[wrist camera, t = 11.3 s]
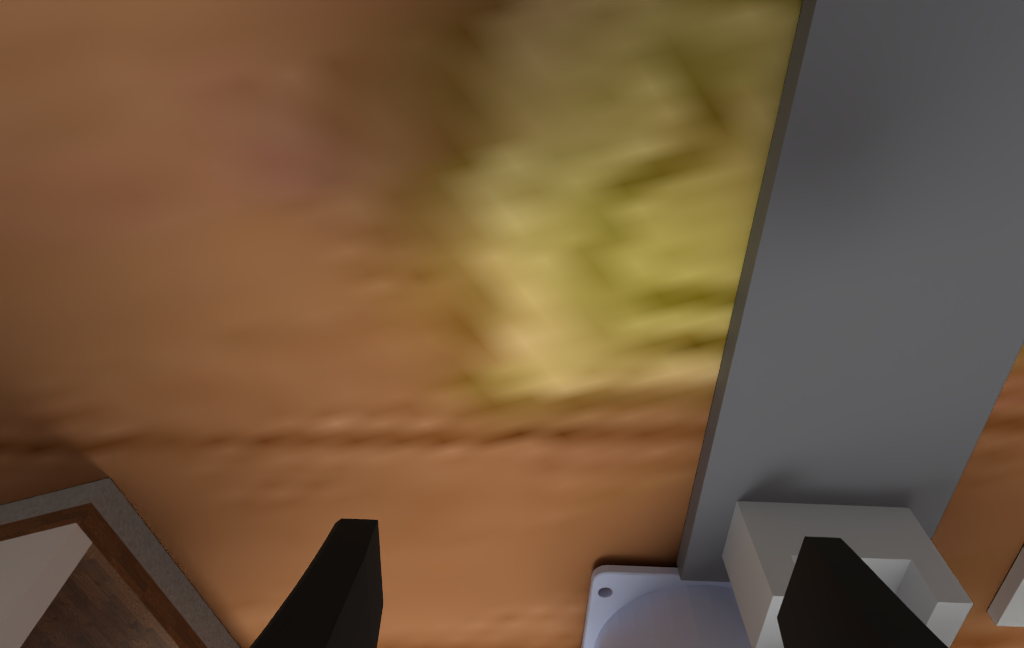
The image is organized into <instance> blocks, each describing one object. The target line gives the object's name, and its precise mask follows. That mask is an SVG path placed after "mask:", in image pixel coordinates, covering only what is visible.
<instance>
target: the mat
mask: <svg viewBox="0 0 1024 648" xmlns="http://www.w3.org/2000/svg"><path fill="white" fill-rule="evenodd" d="M987 613H988V615H989V616H990V617H991V619H992V620H993V622H994V623H995V625H996V626H1015V627H1024V546H1023V548H1022V550H1021V552H1020V553H1019V555H1018V557H1017V559H1016V561H1015V562H1014V564H1013V566H1012V568H1011V570H1010V571H1009V573H1008V575H1007V577H1006V578H1005V580H1004V582H1003V584H1002V586H1001V587H1000V589H999V591H998V593H997V595H996V596H995V598H994V600H993V602H992V604H991V605H990V607H989V609H988V611H987Z"/></svg>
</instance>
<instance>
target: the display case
mask: <svg viewBox="0 0 1024 648" xmlns="http://www.w3.org/2000/svg"><path fill="white" fill-rule="evenodd" d="M0 648H240V647H239V646H238V644H237V643H236V642H235V640H234V639H233V638H232V637H231V635H230V634H229V633H228V631H227V630H226V629H225V627H224V626H223V625H222V623H221V622H220V621H219V620H218V618H217V617H216V616H215V614H214V613H213V612H212V610H211V609H210V608H209V607H208V605H207V604H206V603H205V601H204V600H203V599H202V597H201V596H200V595H199V593H198V592H197V591H196V590H195V588H194V587H193V586H192V584H191V583H190V582H189V580H188V579H187V578H186V577H185V575H184V574H183V573H182V571H181V570H180V569H179V567H178V566H177V565H176V563H175V562H174V561H173V560H172V558H171V557H170V556H169V554H168V553H167V552H166V550H165V549H164V548H163V547H162V545H161V544H160V543H159V541H158V540H157V539H156V537H155V536H154V535H153V533H152V532H151V531H150V530H149V528H148V527H147V526H146V524H145V523H144V522H143V520H142V519H141V518H140V516H139V515H138V514H137V513H136V511H135V510H134V509H133V507H132V506H131V505H130V503H129V502H128V501H127V500H126V498H125V497H124V496H123V494H122V493H121V492H120V490H119V489H118V488H117V486H116V485H115V484H114V483H113V481H112V480H111V479H110V478H106V479H102V480H99V481H95V482H91V483H87V484H83V485H79V486H75V487H71V488H67V489H63V490H59V491H55V492H51V493H47V494H44V495H40V496H36V497H32V498H28V499H24V500H20V501H16V502H12V503H8V504H4V505H0Z"/></svg>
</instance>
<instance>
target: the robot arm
mask: <svg viewBox="0 0 1024 648" xmlns="http://www.w3.org/2000/svg"><path fill="white" fill-rule="evenodd" d="M605 587H607V588H605ZM603 588H604V589H603ZM382 609H383V591H382V576H381V560H380V545H379V529H378V520H366V519H340V520H339V521H338V522H336V523H335V525H334V526H333V528H332V530H331V532H330V533H329V535H328V537H327V538H326V540H325V542H324V543H323V545H322V547H321V548H320V550H319V551H318V553H317V555H316V556H315V558H314V559H313V561H312V562H311V564H310V565H309V567H308V568H307V570H306V571H305V573H304V574H303V576H302V577H301V579H300V580H299V582H298V583H297V585H296V586H295V588H294V589H293V590H292V592H291V593H290V594H289V596H288V597H287V599H286V600H285V601H284V603H283V604H282V605H281V607H280V608H279V610H278V611H277V612H276V614H275V615H274V616H273V618H272V619H271V621H270V622H269V623H268V625H267V626H266V627H265V629H264V630H263V631H262V633H261V634H260V635H259V636H258V638H257V639H256V640H255V641H254V643H253V644H252V645H251V646H250V648H377V642H378V636H379V629H380V622H381V615H382ZM777 621H778V625H779V629H780V633H781V638H782V642H783V646H784V648H948V647H947V646H946V645H945V644H944V643H943V642H942V641H941V640H940V639H939V638H938V637H937V636H936V635H935V634H934V633H933V632H932V631H931V630H930V629H929V628H928V627H927V626H926V625H925V624H924V623H923V622H922V621H921V620H920V619H919V618H918V617H917V616H916V615H915V614H914V613H913V612H912V611H911V610H910V609H909V608H908V607H907V606H906V605H905V604H904V603H903V602H902V600H901V599H900V598H899V597H898V596H897V595H896V594H895V593H894V592H893V591H892V590H891V589H890V588H889V587H888V586H887V585H886V584H885V583H884V582H883V581H882V580H881V579H880V578H879V577H878V576H877V575H876V574H875V573H874V571H873V570H872V569H871V568H870V567H869V566H868V565H867V564H866V563H865V562H864V561H863V560H862V559H861V558H860V557H859V556H858V555H857V554H856V553H855V552H854V551H853V550H852V549H851V548H850V547H849V546H848V545H847V544H846V543H845V542H844V541H843V540H842V539H841V538H834V537H808V536H805V537H804V540H803V543H802V546H801V548H800V551H799V554H798V557H797V560H796V563H795V566H794V569H793V572H792V575H791V578H790V580H789V583H788V586H787V589H786V592H785V595H784V598H783V601H782V604H781V607H780V610H779V612H778V615H777ZM581 648H752V647H751V644H750V641H749V638H748V635H747V632H746V629H745V626H744V623H743V619H742V616H741V613H740V610H739V607H738V604H737V601H736V598H735V595H734V592H733V589H732V586H731V583H730V582H714V581H687V580H681V579H680V575H679V571H678V568H674V567H647V566H621V565H602V566H600V567H597V568H596V569H595V570H594V571H593V573H592V577H591V583H590V590H589V597H588V604H587V611H586V618H585V625H584V632H583V639H582V646H581Z"/></svg>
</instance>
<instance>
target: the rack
mask: <svg viewBox="0 0 1024 648" xmlns="http://www.w3.org/2000/svg"><path fill="white" fill-rule="evenodd" d="M1023 342H1024V0H803V4H802V8H801V12H800V17H799V21H798V26H797V30H796V35H795V39H794V43H793V48H792V52H791V57H790V61H789V66H788V70H787V74H786V79H785V83H784V88H783V92H782V97H781V101H780V105H779V110H778V114H777V119H776V123H775V127H774V132H773V136H772V141H771V145H770V150H769V154H768V158H767V163H766V167H765V172H764V176H763V181H762V185H761V189H760V194H759V198H758V203H757V207H756V212H755V216H754V220H753V225H752V229H751V234H750V238H749V242H748V247H747V251H746V256H745V260H744V265H743V269H742V273H741V278H740V282H739V287H738V291H737V296H736V300H735V304H734V309H733V313H732V318H731V322H730V327H729V331H728V335H727V340H726V344H725V349H724V353H723V357H722V362H721V366H720V371H719V375H718V380H717V384H716V388H715V393H714V397H713V402H712V406H711V411H710V415H709V419H708V424H707V428H706V433H705V437H704V442H703V446H702V450H701V455H700V459H699V464H698V468H697V472H696V477H695V481H694V486H693V490H692V495H691V499H690V503H689V508H688V512H687V517H686V521H685V526H684V530H683V534H682V539H681V543H680V548H679V552H678V557H677V561H676V563H677V567H678V571H679V575H680V579H681V580H687V581H714V582H730V583H731V586H732V589H733V592H734V595H735V598H736V601H737V604H738V607H739V610H740V613H741V616H742V619H743V623H744V626H745V629H746V632H747V635H748V638H749V641H750V644H751V647H752V648H784V646H783V642H782V638H781V633H780V629H779V625H778V621H777V615H778V612H779V610H780V607H781V604H782V601H783V598H784V595H785V592H786V589H787V586H788V583H789V580H790V578H791V575H792V572H793V569H794V566H795V563H796V560H797V557H798V554H799V551H800V548H801V546H802V543H803V540H804V537H805V536H808V537H834V538H841V539H842V540H843V541H844V542H845V543H846V544H847V545H848V546H849V547H850V548H851V549H852V550H853V551H854V552H855V553H856V554H857V555H858V556H859V557H860V558H861V559H862V560H863V561H864V562H865V563H866V564H867V565H868V566H869V567H870V568H871V569H872V570H873V571H874V573H875V574H876V575H877V576H878V577H879V578H880V579H881V580H882V581H883V582H884V583H885V584H886V585H887V586H888V587H889V588H890V589H891V590H892V591H893V592H894V593H895V594H896V595H897V596H898V597H899V598H900V599H901V600H902V602H903V603H904V604H905V605H906V606H907V607H908V608H909V609H910V610H911V611H912V612H913V613H914V614H915V615H916V616H917V617H918V618H919V619H920V620H921V621H922V622H923V623H924V624H925V625H926V626H927V627H928V628H929V629H930V630H931V631H932V632H933V633H934V634H935V635H936V636H937V637H938V638H939V639H940V640H941V641H942V642H943V643H944V644H945V645H946V646H947V647H948V648H950V646H951V644H952V642H953V640H954V638H955V637H956V635H957V633H958V631H959V629H960V627H961V625H962V624H963V622H964V620H965V618H966V616H967V614H968V612H969V611H970V609H971V607H972V605H973V602H972V600H971V599H970V598H969V596H968V595H967V593H966V592H965V590H964V589H963V587H962V586H961V584H960V583H959V581H958V580H957V578H956V577H955V575H954V574H953V572H952V571H951V569H950V568H949V566H948V565H947V563H946V562H945V560H944V559H943V558H942V556H941V555H940V553H939V552H938V550H937V549H936V547H935V546H934V544H933V543H932V541H931V539H932V537H933V535H934V533H935V531H936V529H937V527H938V524H939V522H940V520H941V518H942V516H943V514H944V512H945V509H946V507H947V505H948V503H949V501H950V499H951V497H952V494H953V492H954V490H955V488H956V486H957V484H958V482H959V479H960V477H961V475H962V473H963V471H964V469H965V467H966V464H967V462H968V460H969V458H970V456H971V454H972V452H973V450H974V447H975V445H976V443H977V441H978V439H979V437H980V435H981V432H982V430H983V428H984V426H985V424H986V422H987V420H988V417H989V415H990V413H991V411H992V409H993V407H994V405H995V402H996V400H997V398H998V396H999V394H1000V392H1001V390H1002V387H1003V385H1004V383H1005V381H1006V379H1007V377H1008V375H1009V372H1010V370H1011V368H1012V366H1013V364H1014V362H1015V360H1016V357H1017V355H1018V353H1019V351H1020V349H1021V347H1022V345H1023Z"/></svg>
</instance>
